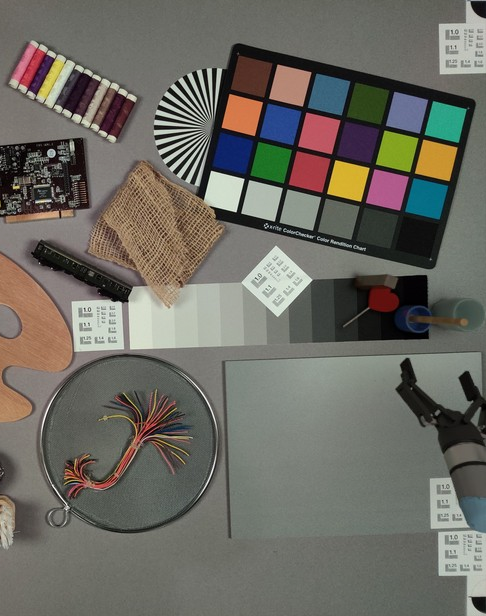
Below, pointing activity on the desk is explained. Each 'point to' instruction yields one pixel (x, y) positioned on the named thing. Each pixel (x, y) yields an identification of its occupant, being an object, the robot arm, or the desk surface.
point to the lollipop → (380, 301)
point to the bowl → (403, 324)
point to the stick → (437, 320)
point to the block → (375, 282)
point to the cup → (461, 313)
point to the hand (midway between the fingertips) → (433, 367)
